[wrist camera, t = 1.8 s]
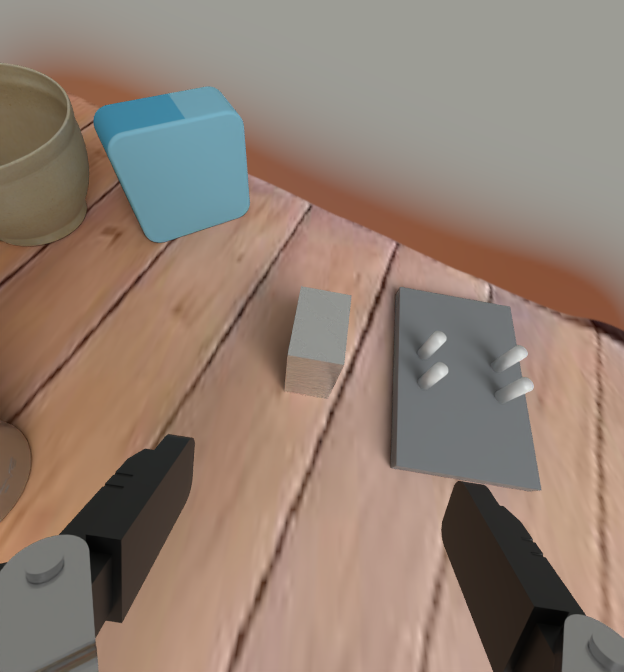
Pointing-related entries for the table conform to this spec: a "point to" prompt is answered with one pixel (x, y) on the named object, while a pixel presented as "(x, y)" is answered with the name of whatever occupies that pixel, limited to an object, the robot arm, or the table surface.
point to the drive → (317, 342)
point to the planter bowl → (39, 160)
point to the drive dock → (460, 392)
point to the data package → (178, 160)
